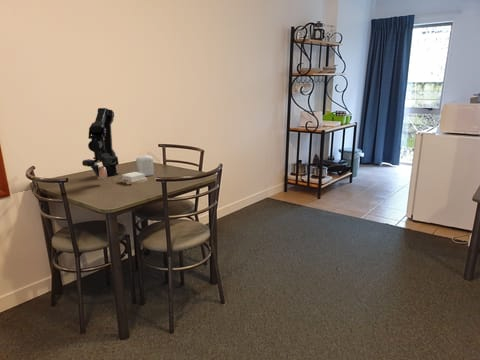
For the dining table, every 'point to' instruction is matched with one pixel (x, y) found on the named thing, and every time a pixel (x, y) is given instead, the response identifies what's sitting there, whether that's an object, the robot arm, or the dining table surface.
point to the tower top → (133, 176)
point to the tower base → (133, 181)
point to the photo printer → (145, 165)
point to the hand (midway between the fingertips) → (102, 175)
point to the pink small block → (102, 172)
